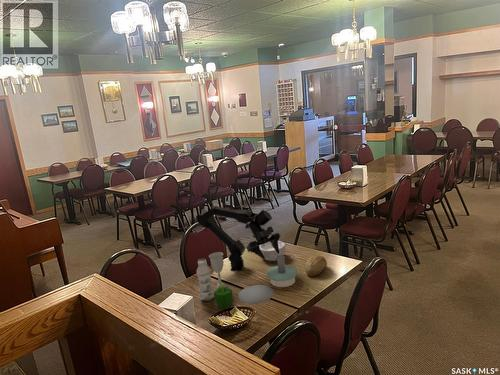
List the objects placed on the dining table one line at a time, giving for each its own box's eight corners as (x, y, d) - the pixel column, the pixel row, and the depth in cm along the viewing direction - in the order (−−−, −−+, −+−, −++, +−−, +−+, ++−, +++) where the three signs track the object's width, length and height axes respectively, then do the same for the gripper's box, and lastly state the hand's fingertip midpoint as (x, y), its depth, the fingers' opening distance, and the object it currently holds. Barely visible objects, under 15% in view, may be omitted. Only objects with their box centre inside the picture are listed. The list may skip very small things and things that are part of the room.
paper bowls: (258, 254, 213) (257, 242, 211) (283, 250, 214) (282, 238, 212) (262, 265, 198) (260, 252, 196) (288, 261, 199) (287, 248, 198)
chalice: (216, 293, 173) (211, 259, 169) (211, 287, 179) (206, 255, 175) (230, 288, 176) (225, 255, 173) (224, 283, 182) (220, 250, 179)
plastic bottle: (201, 296, 172) (194, 258, 168) (214, 294, 172) (209, 256, 168) (200, 303, 166) (194, 264, 161) (214, 301, 166) (208, 262, 162)
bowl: (269, 288, 172) (269, 279, 171) (272, 276, 184) (271, 268, 183) (294, 287, 170) (293, 279, 169) (295, 275, 181) (294, 267, 180)
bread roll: (331, 267, 186) (330, 253, 185) (318, 279, 175) (317, 264, 173) (315, 264, 192) (314, 250, 190) (301, 276, 181) (300, 261, 179)
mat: (234, 305, 161) (234, 304, 161) (241, 286, 177) (241, 285, 177) (271, 304, 158) (271, 303, 158) (275, 285, 174) (275, 284, 174)
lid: (265, 281, 170) (263, 264, 168) (269, 267, 184) (267, 251, 183) (296, 280, 167) (295, 263, 165) (297, 266, 182) (296, 250, 180)
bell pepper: (229, 312, 156) (226, 291, 154) (212, 309, 159) (209, 289, 157) (237, 301, 164) (234, 282, 161) (221, 299, 167) (218, 280, 165)
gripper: (246, 228, 177) (261, 254, 170) (276, 218, 186) (292, 243, 179) (240, 238, 185) (254, 264, 178) (269, 228, 194) (283, 253, 188)
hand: (271, 256), depth 181 cm, fingers open, 9 cm apart
